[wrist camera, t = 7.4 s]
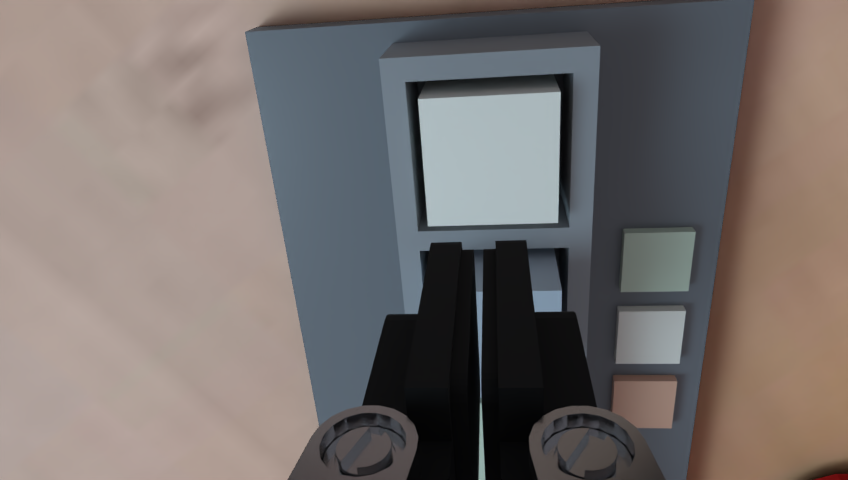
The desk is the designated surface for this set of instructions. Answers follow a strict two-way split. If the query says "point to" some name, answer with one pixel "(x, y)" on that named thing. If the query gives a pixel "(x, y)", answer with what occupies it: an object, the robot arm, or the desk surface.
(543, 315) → the robot arm
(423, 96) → the cream key
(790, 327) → the desk surface
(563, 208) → the keypad
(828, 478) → the soda can
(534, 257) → the slate key
